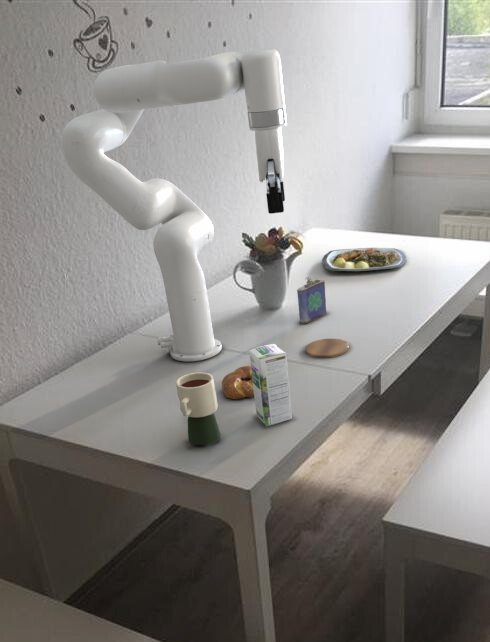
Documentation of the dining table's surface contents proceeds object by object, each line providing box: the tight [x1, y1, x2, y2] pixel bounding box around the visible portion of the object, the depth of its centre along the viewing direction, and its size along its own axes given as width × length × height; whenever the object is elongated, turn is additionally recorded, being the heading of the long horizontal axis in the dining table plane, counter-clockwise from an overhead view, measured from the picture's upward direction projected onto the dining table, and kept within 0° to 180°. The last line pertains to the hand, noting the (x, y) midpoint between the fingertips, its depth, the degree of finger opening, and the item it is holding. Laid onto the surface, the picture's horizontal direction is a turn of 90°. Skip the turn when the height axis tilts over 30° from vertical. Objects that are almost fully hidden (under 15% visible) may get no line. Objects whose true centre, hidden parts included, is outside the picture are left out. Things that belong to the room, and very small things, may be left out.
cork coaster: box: [305, 338, 349, 359], centre depth 184 cm, size 10×10×1 cm
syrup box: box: [248, 343, 293, 427], centre depth 154 cm, size 6×6×14 cm
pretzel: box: [221, 365, 254, 400], centre depth 169 cm, size 12×11×4 cm
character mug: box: [175, 371, 221, 446], centre depth 149 cm, size 11×7×13 cm, turn 156°
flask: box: [296, 276, 327, 325], centre depth 200 cm, size 9×3×11 cm, turn 134°
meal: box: [321, 247, 407, 272], centre depth 238 cm, size 25×25×3 cm
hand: (277, 207), depth 165 cm, fingers open, 9 cm apart
